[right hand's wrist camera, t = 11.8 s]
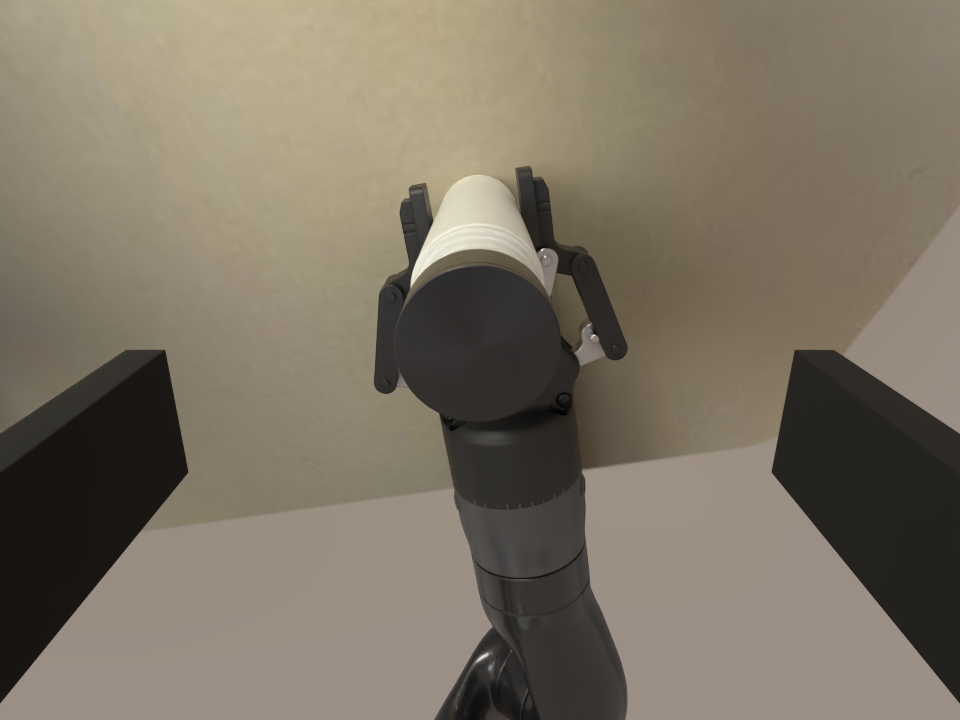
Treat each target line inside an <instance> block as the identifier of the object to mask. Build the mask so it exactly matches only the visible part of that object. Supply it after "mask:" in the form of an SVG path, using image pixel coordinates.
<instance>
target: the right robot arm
mask: <svg viewBox="0 0 960 720" xmlns="http://www.w3.org/2000/svg"><path fill="white" fill-rule="evenodd" d="M187 473H188V468H187V462H186V457H185V452H184V447H183V441H182V436H181V431H180V426H179V420H178V415H177V410H176V405H175V399H174V394H173V389H172V383H171V378H170V373H169V368H168V362H167V357H166V352H165V350H125V351H124V352H122V353H121V354H119V355H118V356H116V357H115V358H113V359H112V360H110V361H109V362H107V363H106V364H104V365H103V366H101V367H100V368H98V369H97V370H95V371H94V372H92V373H91V374H89V375H88V376H86V377H85V378H83V379H82V380H80V381H79V382H77V383H76V384H74V385H73V386H71V387H70V388H68V389H67V390H65V391H64V392H62V393H61V394H59V395H58V396H56V397H55V398H53V399H52V400H50V401H49V402H47V403H46V404H44V405H43V406H41V407H40V408H38V409H37V410H35V411H34V412H32V413H31V414H29V415H28V416H26V417H25V418H23V419H22V420H20V421H19V422H17V423H16V424H14V425H13V426H11V427H10V428H8V429H7V430H5V431H4V432H2V433H1V434H0V703H1V702H2V700H3V699H4V698H5V697H6V696H7V694H8V693H9V692H10V691H11V689H12V688H13V687H14V686H15V685H16V683H17V682H18V681H19V680H20V678H21V677H22V676H23V675H24V674H25V672H26V671H27V670H28V669H29V667H30V666H31V665H32V664H33V662H34V661H35V660H36V659H37V658H38V656H39V655H40V654H41V653H42V651H43V650H44V649H45V648H46V647H47V645H48V644H49V643H50V642H51V640H52V639H53V638H54V637H55V635H56V634H57V633H58V632H59V631H60V629H61V628H62V627H63V626H64V624H65V623H66V622H67V621H68V620H69V618H70V617H71V616H72V614H73V613H74V612H75V611H76V610H77V608H78V607H79V606H80V605H81V604H82V602H83V601H84V600H85V599H86V597H87V596H88V595H89V594H90V592H91V591H92V590H93V589H94V588H95V586H96V585H97V584H98V583H99V581H100V580H101V579H102V578H103V577H104V575H105V574H106V573H107V572H108V570H109V569H110V568H111V567H112V565H113V564H114V563H115V562H116V561H117V559H118V558H119V557H120V556H121V554H122V553H123V552H124V551H125V549H126V548H127V547H128V546H129V545H130V543H131V542H132V541H133V540H134V538H135V537H136V536H137V535H138V534H139V532H140V531H141V530H142V529H143V527H144V526H145V525H146V524H147V523H148V521H149V520H150V519H151V518H152V516H153V515H154V514H155V513H156V511H157V510H158V509H159V508H160V507H161V505H162V504H163V503H164V502H165V500H166V499H167V498H168V497H169V496H170V494H171V493H172V492H173V491H174V489H175V488H176V487H177V486H178V484H179V483H180V482H181V481H182V480H183V478H184V477H185V476H186V475H187ZM772 473H773V475H774V476H775V477H776V478H777V480H778V481H779V482H780V483H781V484H782V486H783V487H784V488H785V489H786V491H787V492H788V493H789V494H790V496H791V497H792V498H793V499H794V500H795V502H796V503H797V504H798V505H799V507H800V508H801V509H802V510H803V511H804V513H805V514H806V515H807V516H808V518H809V519H810V520H811V521H812V522H813V524H814V525H815V526H816V527H817V529H818V530H819V531H820V532H821V534H822V535H823V536H824V537H825V538H826V540H827V541H828V542H829V543H830V545H831V546H832V547H833V548H834V550H835V551H836V552H837V553H838V554H839V556H840V557H841V558H842V559H843V561H844V562H845V563H846V564H847V565H848V567H849V568H850V569H851V570H852V572H853V573H854V574H855V575H856V577H857V578H858V579H859V580H860V581H861V583H862V584H863V585H864V586H865V588H866V589H867V590H868V591H869V593H870V594H871V595H872V596H873V597H874V599H875V600H876V601H877V602H878V604H879V605H880V606H881V607H882V608H883V610H884V611H885V612H886V613H887V615H888V616H889V617H890V618H891V620H892V621H893V622H894V623H895V624H896V626H897V627H898V628H899V629H900V631H901V632H902V633H903V634H904V635H905V637H906V638H907V639H908V640H909V642H910V643H911V644H912V645H913V646H914V648H915V649H916V650H917V651H918V653H919V654H920V655H921V656H922V658H923V659H924V660H925V661H926V662H927V664H928V665H929V666H930V667H931V669H932V670H933V671H934V672H935V674H936V675H937V676H938V677H939V678H940V680H941V681H942V682H943V683H944V684H945V686H946V687H947V688H948V689H949V691H950V692H951V693H952V694H953V696H954V697H955V698H956V699H957V701H958V702H959V703H960V434H959V433H958V432H956V431H955V430H953V429H952V428H950V427H949V426H947V425H946V424H944V423H943V422H941V421H940V420H938V419H937V418H935V417H934V416H932V415H931V414H929V413H928V412H926V411H925V410H923V409H922V408H920V407H919V406H917V405H916V404H914V403H913V402H911V401H910V400H908V399H907V398H905V397H904V396H902V395H901V394H899V393H898V392H896V391H895V390H893V389H892V388H890V387H889V386H887V385H886V384H884V383H883V382H881V381H880V380H878V379H877V378H875V377H874V376H872V375H871V374H869V373H868V372H866V371H865V370H863V369H862V368H860V367H859V366H857V365H856V364H854V363H853V362H851V361H850V360H848V359H847V358H845V357H844V356H842V355H841V354H839V353H838V352H836V351H835V350H795V352H794V357H793V362H792V368H791V373H790V378H789V383H788V389H787V394H786V399H785V404H784V410H783V415H782V420H781V425H780V431H779V436H778V442H777V447H776V452H775V457H774V462H773V468H772Z"/></svg>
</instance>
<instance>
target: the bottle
mask: <svg viewBox="0 0 960 720" xmlns="http://www.w3.org/2000/svg"><path fill="white" fill-rule="evenodd" d="M468 249H487V250H493V251H497V252H501V253H504V254H507V255H509V256H511V257H513V258H515V259H517V260H519V261H520V262H521V263H523V264H524V265H526V266H527V267H528V268H529V269H530V270H531V271H532V272H533V273H534V274H535V275H536V276H537V277H538V279H539V280H540V281H541V283H542V285H543V286H544V288H545V290H546V283H545V276H544V272H543V268H542V265H541V263H540V261H539V258H538V256H537V253H536V251H535V248H534V246H533V243H532V241H531V238H530V236H529V233H528V231H527V228H526V226H525V223H524V221H523V218H522V216H521V213H520V211H519V209H518V206H517V204H516V201H515V199H514V196H513V195H512V193H511V191H510V190H509V189H508V188H507V187H506V186H505V185H504V184H503V183H502V182H500V181H499V180H497V179H495V178H493V177H490V176H486V175H472V176H468V177H465V178H463V179H461V180H459V181H458V182H456V183H455V184H454V185H453V186H452V187H451V188H450V189H449V190H448V192H447V193H446V195H445V197H444V199H443V201H442V203H441V206H440V208H439V210H438V213H437V215H436V217H435V220H434V222H433V224H432V226H431V229H430V231H429V233H428V236H427V238H426V240H425V243H424V245H423V247H422V250H421V252H420V254H419V257H418V259H417V261H416V264H415V266H414V269H413V272H412V278H411V287H412V285H413V284H414V282H415V281H416V279H417V278H418V277H419V275H420V274H421V273H422V272H423V271H424V270H425V269H426V268H427V267H429V266H430V265H431V264H432V263H434V262H435V261H437V260H439V259H440V258H442V257H444V256H446V255H449V254H451V253H455V252H458V251H462V250H468Z"/></svg>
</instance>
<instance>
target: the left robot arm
mask: <svg viewBox="0 0 960 720" xmlns="http://www.w3.org/2000/svg"><path fill="white" fill-rule="evenodd" d="M515 169H516V178H517V186H518V194H519V201H520V209H521V216H522V218H523V221H524V223H525V226H526V228H527V231H528V233H529V236H530V238H531V241H532V243H533V246H534V248H535V251H536V253H537V256H538V258H539V261H540V263H541V265H542V268H543V272H544V276H545V283H546V292H547V294H548V297H549V299H550V302H551V294H552V289H553V284H554V280H555V275H556V273H560V274H565V275H571V276H572V278H573V280H574V283H575V285H576V288H577V290H578V292H579V295H580V297H581V300H582V302H583V305H584V307H585V310H586V312H587V315H588V317H589V319H586V320H584V321H583V322H582V323H581V324H580V326H579V334H580V339H579V341H578V343H577V344H576V345H575V346H573V347H572V346H571V345H570V344H569V343H568V342H567V341H566V340H564V339H563V338H562V337H561V351H560V358H559V362H558V365H557V369H556V371H555V373H554V375H553V378H552V379H551V381H550V383H549V384H548V386H547V387H546V389H545V390H544V391H543V392H542V394H541V395H540V396H539V397H538V398H537V399H536V400H535V401H534V402H532V403H531V404H530V405H528V406H527V407H525V408H524V409H522V410H520V411H519V412H517V413H515V414H512V415H510V416H508V417H505V418H501V419H497V420H492V421H483V422H472V421H463V420H458V419H454V418H451V417H448V416H445V415H443V414H441V413H439V415H440V420H441V425H442V430H443V435H444V440H445V445H446V450H447V455H448V460H449V465H450V470H451V475H452V480H453V485H454V490H455V491H454V500H455V504H456V507H457V509H458V511H459V515H460V519H461V523H462V526H463V529H464V532H465V535H466V538H467V540H468V543H469V546H470V550H471V553H472V559H473V564H474V569H475V574H476V579H477V585H478V590H479V594H480V598H481V602H482V605H483V608H484V611H485V613H486V615H487V617H488V619H489V621H490V622H491V624H492V626H493V627H492V628H491V629H490V630H489V631H488V632H487V634H486V635H485V636H484V637H483V639H482V640H481V641H480V643H479V645H478V646H477V648H476V649H475V651H474V652H473V654H472V656H471V658H470V660H469V661H468V663H467V664H466V666H465V668H464V670H463V671H462V673H461V675H460V677H459V678H458V680H457V682H456V684H455V685H454V687H453V689H452V690H451V692H450V693H449V695H448V697H447V698H446V700H445V702H444V703H443V705H442V707H441V709H440V710H439V712H438V714H437V716H436V718H435V719H434V720H625V719H626V713H627V685H626V680H625V675H624V671H623V667H622V664H621V661H620V658H619V655H618V652H617V649H616V647H615V644H614V642H613V639H612V637H611V634H610V631H609V629H608V626H607V624H606V621H605V619H604V616H603V613H602V611H601V609H600V607H599V605H598V603H597V601H596V599H595V597H594V595H593V592H592V590H591V587H590V577H589V566H588V557H587V548H586V540H585V508H586V507H585V495H584V494H585V478H584V476H583V474H582V468H581V459H580V449H579V441H578V432H577V423H576V414H575V406H574V397H573V388H574V384H575V381H576V379H577V377H578V375H579V371H580V367H581V366H584V365H586V364H589V363H591V362H594V361H596V360H599V359H601V358H604V357H606V356H607V357H608V358H609V359H611V360H619V359H621V358H623V357H624V356H625V355H626V353H627V350H628V348H627V344H626V341H625V339H624V336H623V334H622V331H621V328H620V326H619V323H618V321H617V318H616V316H615V313H614V310H613V308H612V305H611V303H610V300H609V298H608V295H607V292H606V290H605V287H604V285H603V282H602V280H601V277H600V274H599V272H598V269H597V267H596V264H595V262H594V260H593V259H592V257H591V256H589V254H588V252H587V251H586V250H585V249H584V248H583V247H581V246H573V247H571V246H566V245H561V244H559V243H557V242H556V241H555V240H554V234H553V225H552V216H551V207H550V198H549V190H548V187H547V186H546V184H545V182H544V180H543V179H542V178H541V177H535V178H533V175H532V169H531V167H530V166H526V167H520V168H515ZM409 194H410V198H407V199H404V200H403V201H402V203H401V208H400V218H401V223H402V228H403V233H404V238H405V243H406V248H407V253H408V258H409V266H408V268H406V269H405V270H403V271H401V272H400V273H398V274H395V275H391V276H390V277H389V278H388V279H387V281H386V282H385V284H384V286H383V288H382V289H381V291H380V294H379V306H378V324H377V341H376V359H375V376H374V385H375V388H376V389H377V390H378V391H379V392H381V393H384V394H388V393H391V392H393V391H394V390H395V389H396V387H406V388H409V387H408V386H407V384H406V383H405V381H404V379H403V377H402V375H401V373H400V371H399V368H398V365H397V361H396V357H395V349H394V335H395V329H396V324H397V321H398V318H399V315H400V313H401V310H402V308H403V305H404V303H405V300H406V298H407V295H408V293H409V291H410V289H411V278H412V272H413V269H414V266H415V264H416V261H417V259H418V257H419V254H420V252H421V250H422V247H423V245H424V243H425V240H426V238H427V236H428V233H429V231H430V229H431V226H432V224H433V217H432V212H431V206H430V201H429V195H428V190H427V186H426V183H423V184H417V185H412V186H411V187H410V188H409Z"/></svg>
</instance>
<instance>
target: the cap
mask: <svg viewBox="0 0 960 720" xmlns="http://www.w3.org/2000/svg"><path fill="white" fill-rule="evenodd" d="M394 349H395V357H396V361H397V365H398V368H399V371H400V373H401V375H402V377H403V379H404V381H405V383H406V384H407V386H408V387H409V388H410V390H411V391H412V392H413V393H414V394H415V395H416V396H417V398H418V399H419V400H421V401H422V402H423V403H424V404H426V405H427V406H428V407H430V408H432V409H433V410H435V411H436V412H439V413H441V414H443V415H445V416H448V417H451V418H454V419H458V420H463V421H472V422H483V421H492V420H497V419H501V418H505V417H508V416H510V415H512V414H515V413H517V412H519V411H520V410H522V409H524V408H525V407H527V406H528V405H530V404H531V403H532V402H534V401H535V400H536V399H537V398H538V397H539V396H540V395H541V394H542V392H543V391H544V390H545V389H546V387H547V386H548V384H549V383H550V381H551V379H552V378H553V375H554V373H555V371H556V369H557V365H558V362H559V358H560V351H561V336H560V329H559V325H558V321H557V318H556V315H555V313H554V310H553V307H552V305H551V302H550V299H549V297H548V294H547V292H546V290H545V288H544V286H543V285H542V283H541V281H540V280H539V279H538V277H537V276H536V275H535V274H534V273H533V272H532V271H531V270H530V269H529V268H528V267H527V266H526V265H524V264H523V263H521V262H520V261H519V260H517V259H515V258H513V257H511V256H509V255H507V254H504V253H501V252H497V251H493V250H487V249H468V250H462V251H458V252H455V253H451V254H449V255H446V256H444V257H442V258H440V259H439V260H437V261H435V262H434V263H432V264H431V265H430V266H429V267H427V268H426V269H425V270H424V271H423V272H422V273H421V274H420V275H419V277H418V278H417V279H416V281H415V282H414V284H413V285H412V287H411V289H410V291H409V293H408V295H407V298H406V300H405V303H404V305H403V308H402V310H401V313H400V315H399V318H398V321H397V324H396V329H395V335H394Z"/></svg>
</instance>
